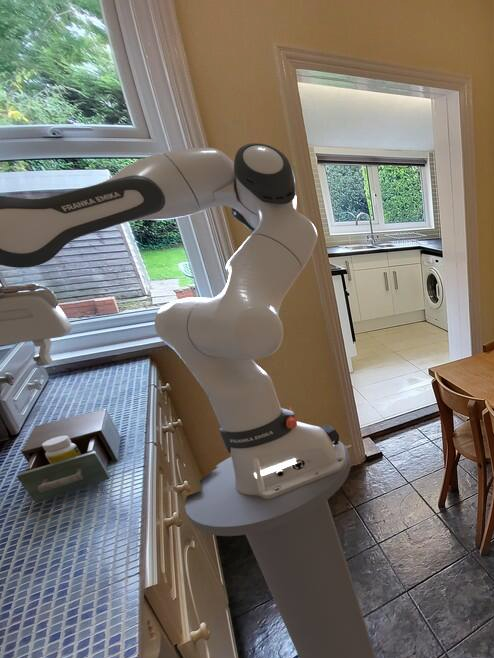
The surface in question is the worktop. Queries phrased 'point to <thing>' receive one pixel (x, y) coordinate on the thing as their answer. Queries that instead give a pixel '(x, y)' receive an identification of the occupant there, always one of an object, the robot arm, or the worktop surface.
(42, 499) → the drawer
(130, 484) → the worktop surface
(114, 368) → the worktop surface
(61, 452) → the supplement bottle
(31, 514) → the worktop surface
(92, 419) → the cabinet
